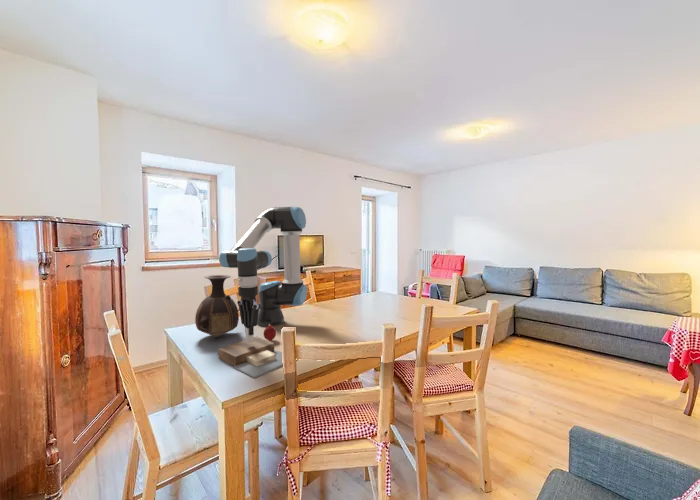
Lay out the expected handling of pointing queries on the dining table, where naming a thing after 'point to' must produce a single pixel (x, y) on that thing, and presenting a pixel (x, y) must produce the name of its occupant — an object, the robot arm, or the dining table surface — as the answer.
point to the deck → (244, 350)
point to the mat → (261, 366)
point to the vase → (217, 310)
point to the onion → (269, 333)
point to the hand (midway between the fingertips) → (249, 342)
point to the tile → (261, 357)
